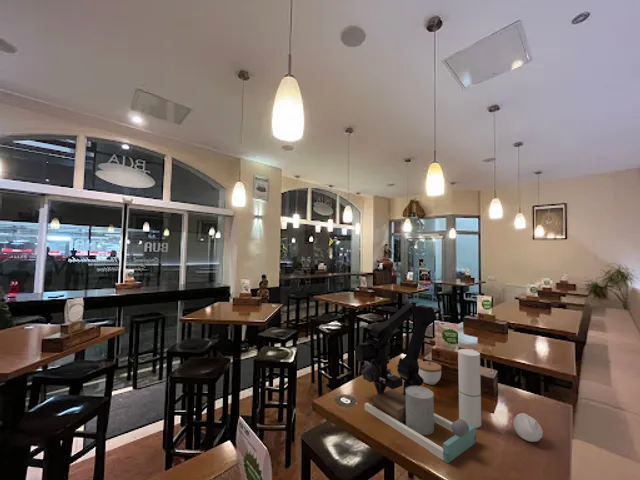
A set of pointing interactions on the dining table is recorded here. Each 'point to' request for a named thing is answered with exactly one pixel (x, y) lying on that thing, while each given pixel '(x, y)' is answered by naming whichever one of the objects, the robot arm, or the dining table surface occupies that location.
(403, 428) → the bay
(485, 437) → the dining table surface
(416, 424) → the grey concrete cylinder
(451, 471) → the dining table surface
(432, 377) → the lidded jar
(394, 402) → the carriage
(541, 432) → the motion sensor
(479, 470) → the dining table surface
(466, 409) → the cylindrical container
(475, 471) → the dining table surface
